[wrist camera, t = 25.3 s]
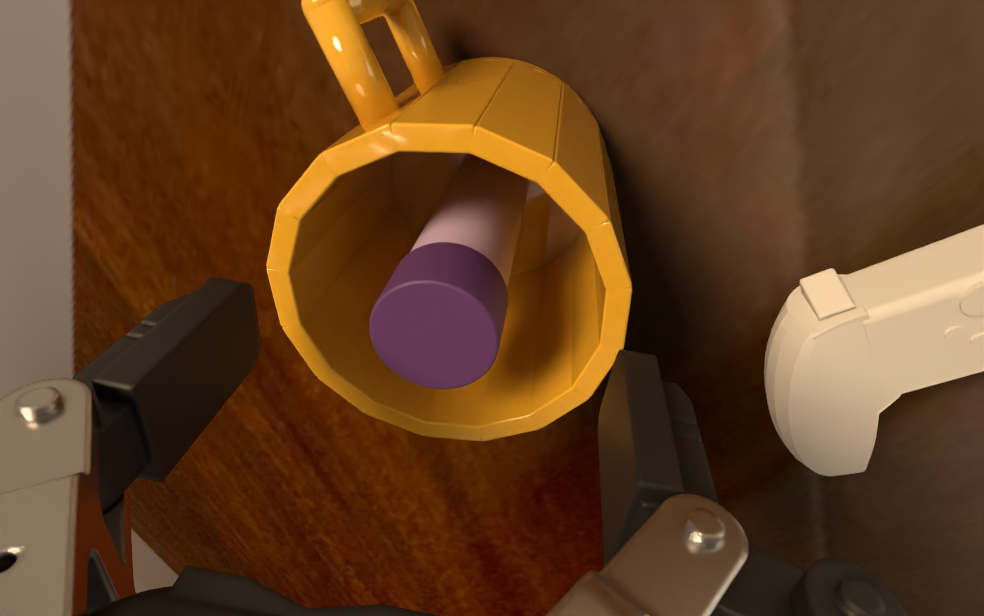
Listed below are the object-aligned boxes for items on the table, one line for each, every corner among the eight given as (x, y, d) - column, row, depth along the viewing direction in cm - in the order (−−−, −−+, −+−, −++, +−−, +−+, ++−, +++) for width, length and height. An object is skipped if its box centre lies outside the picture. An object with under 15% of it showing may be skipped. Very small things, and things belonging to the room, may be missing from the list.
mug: (636, 242, 22) (671, 402, 14) (441, 302, 25) (377, 465, 17) (531, -91, 17) (490, -142, 9) (298, 31, 19) (104, 79, 11)
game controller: (809, 506, 24) (752, 376, 18) (773, 422, 27) (715, 290, 22) (1258, 406, 19) (1377, 180, 13) (1147, 317, 22) (1203, 105, 16)
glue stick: (436, 192, 21) (345, 342, 13) (482, 130, 20) (413, 254, 11) (498, 238, 22) (449, 410, 13) (546, 182, 20) (526, 335, 12)
